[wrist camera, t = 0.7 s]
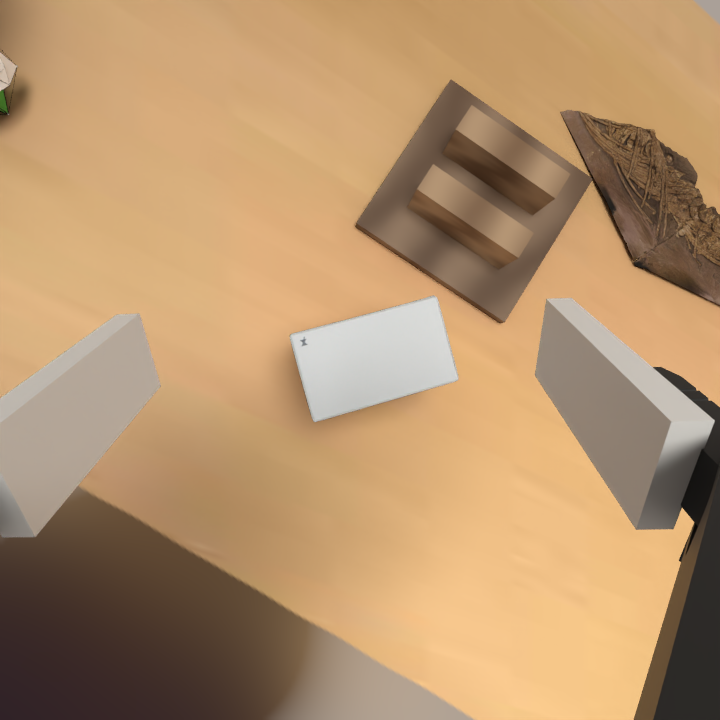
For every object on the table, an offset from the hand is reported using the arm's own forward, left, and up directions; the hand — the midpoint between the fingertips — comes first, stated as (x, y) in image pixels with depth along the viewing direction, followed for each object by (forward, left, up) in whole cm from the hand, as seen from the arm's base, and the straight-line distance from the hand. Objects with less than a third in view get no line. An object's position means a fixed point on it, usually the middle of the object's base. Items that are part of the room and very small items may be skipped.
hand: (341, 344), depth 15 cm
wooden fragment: (+18, +30, -26) cm, 43 cm away
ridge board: (+3, +20, -25) cm, 32 cm away
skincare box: (+2, +2, -25) cm, 26 cm away
